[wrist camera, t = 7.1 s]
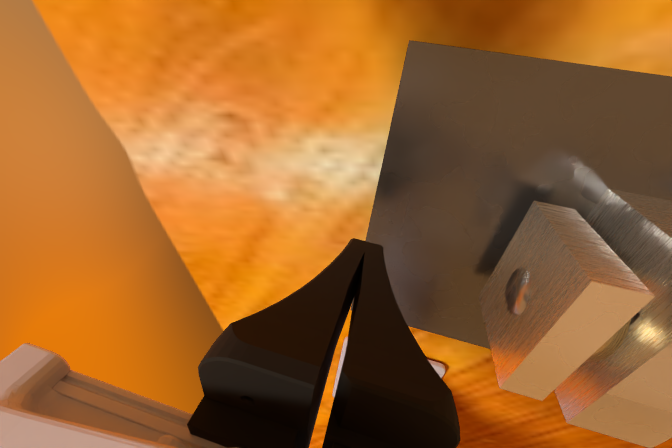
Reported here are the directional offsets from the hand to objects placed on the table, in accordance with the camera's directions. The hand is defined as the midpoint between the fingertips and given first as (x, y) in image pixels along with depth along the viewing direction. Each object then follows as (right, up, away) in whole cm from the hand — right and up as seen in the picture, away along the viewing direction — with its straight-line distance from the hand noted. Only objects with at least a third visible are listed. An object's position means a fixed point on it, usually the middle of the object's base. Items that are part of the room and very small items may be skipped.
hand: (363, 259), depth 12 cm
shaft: (+13, -1, 0) cm, 13 cm away
